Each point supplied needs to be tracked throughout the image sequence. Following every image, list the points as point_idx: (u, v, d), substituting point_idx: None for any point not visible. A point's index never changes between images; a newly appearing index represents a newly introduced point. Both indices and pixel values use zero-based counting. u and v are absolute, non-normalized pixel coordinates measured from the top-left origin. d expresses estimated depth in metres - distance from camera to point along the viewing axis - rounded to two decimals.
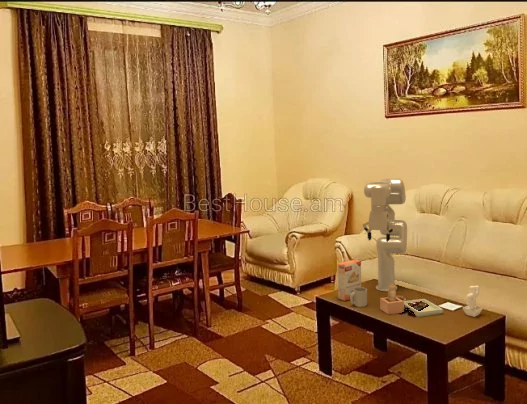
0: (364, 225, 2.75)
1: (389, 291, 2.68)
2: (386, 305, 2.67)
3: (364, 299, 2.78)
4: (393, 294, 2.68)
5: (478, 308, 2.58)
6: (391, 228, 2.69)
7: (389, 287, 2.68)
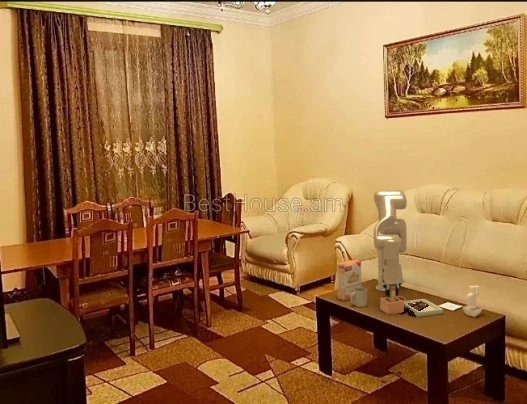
0: None
1: None
2: (386, 305, 2.67)
3: (364, 299, 2.78)
4: (393, 294, 2.68)
5: (478, 308, 2.58)
6: (382, 283, 2.68)
7: (389, 287, 2.68)
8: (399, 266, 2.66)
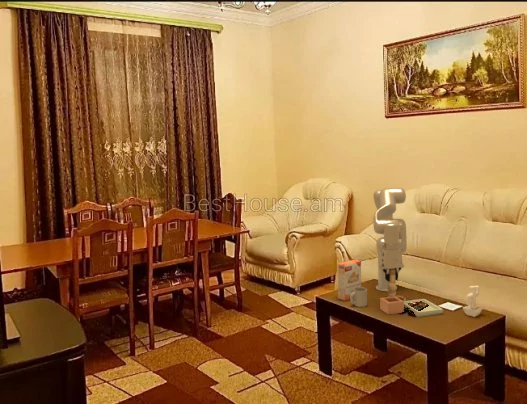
0: None
1: None
2: (386, 305, 2.67)
3: (364, 299, 2.78)
4: (393, 278, 2.67)
5: (478, 308, 2.58)
6: (382, 268, 2.67)
7: (389, 271, 2.67)
8: (399, 250, 2.65)
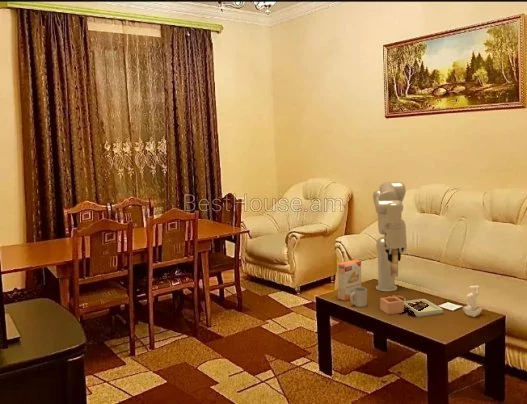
0: None
1: None
2: (386, 305, 2.67)
3: (364, 299, 2.78)
4: (395, 259, 2.65)
5: (478, 308, 2.58)
6: None
7: (391, 251, 2.65)
8: (401, 230, 2.63)
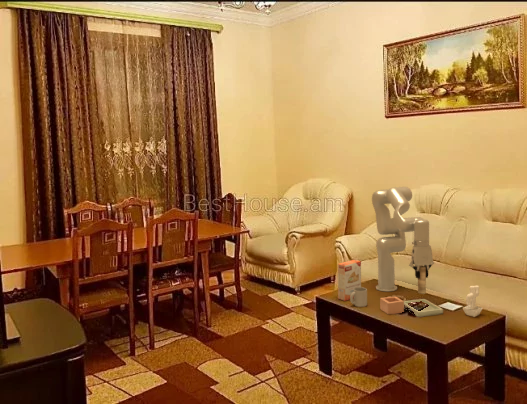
0: None
1: None
2: (386, 305, 2.67)
3: (364, 299, 2.78)
4: (423, 276, 2.66)
5: (478, 308, 2.58)
6: None
7: (419, 268, 2.66)
8: (429, 247, 2.64)
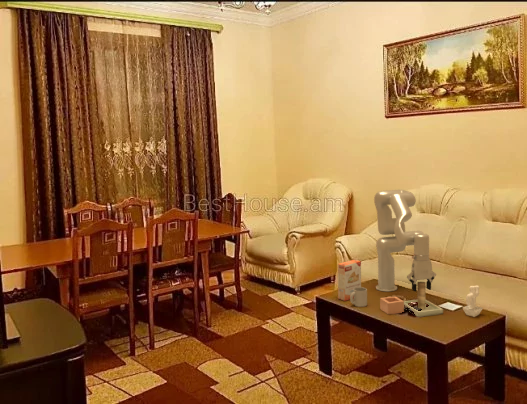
0: None
1: (419, 289, 2.67)
2: (386, 305, 2.67)
3: (364, 299, 2.78)
4: (423, 292, 2.67)
5: (478, 308, 2.58)
6: None
7: (419, 284, 2.67)
8: (429, 261, 2.65)
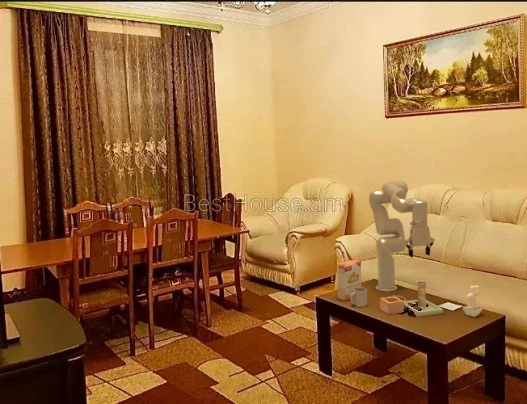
0: None
1: (419, 289, 2.67)
2: (386, 305, 2.67)
3: (364, 299, 2.78)
4: (423, 292, 2.67)
5: (478, 308, 2.58)
6: None
7: (419, 284, 2.67)
8: (427, 228, 2.65)
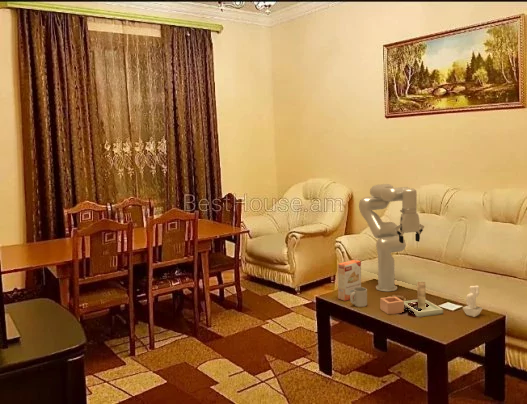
0: None
1: (419, 289, 2.68)
2: (386, 305, 2.67)
3: (364, 299, 2.78)
4: (423, 292, 2.67)
5: (478, 308, 2.58)
6: None
7: (419, 284, 2.67)
8: (417, 215, 2.78)
